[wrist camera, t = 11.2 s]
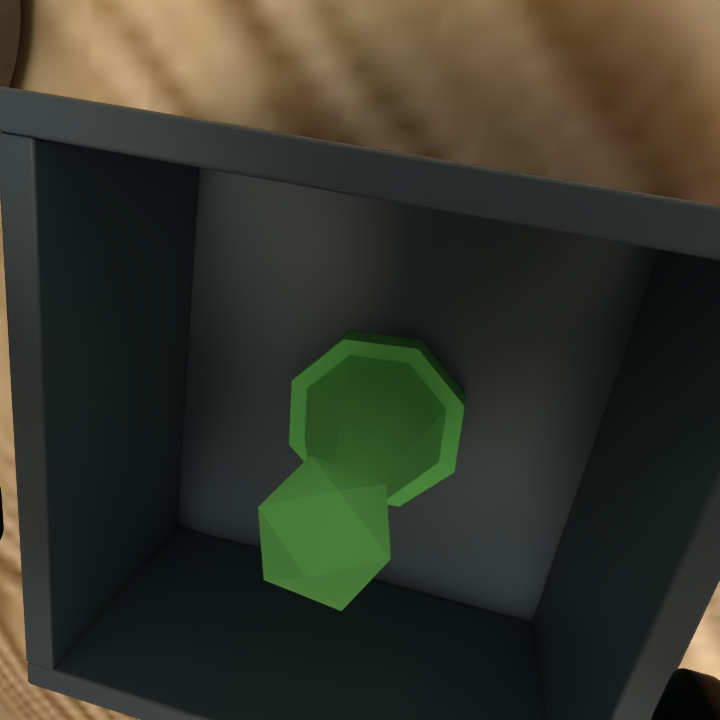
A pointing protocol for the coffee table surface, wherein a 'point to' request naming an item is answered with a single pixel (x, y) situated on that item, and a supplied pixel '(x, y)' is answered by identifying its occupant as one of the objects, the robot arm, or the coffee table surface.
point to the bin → (272, 421)
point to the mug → (9, 38)
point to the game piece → (357, 461)
